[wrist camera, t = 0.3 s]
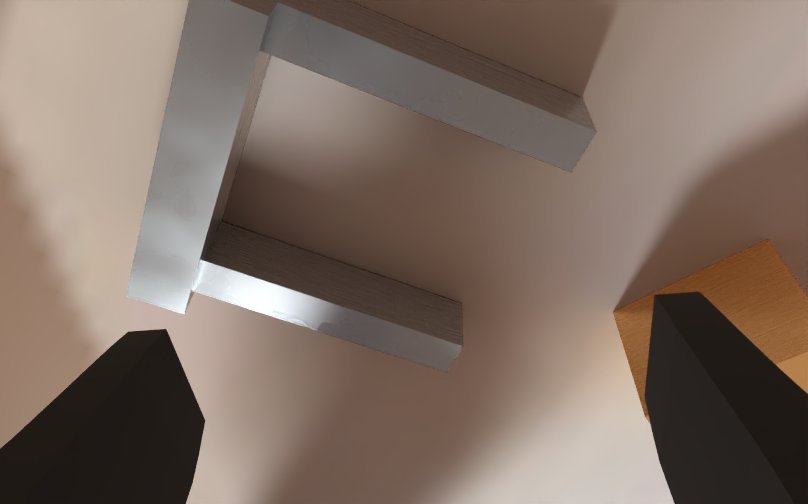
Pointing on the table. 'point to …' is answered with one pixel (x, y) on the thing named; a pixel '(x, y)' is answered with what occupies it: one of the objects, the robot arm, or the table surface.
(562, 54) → the table surface
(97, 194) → the table surface
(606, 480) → the table surface
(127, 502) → the robot arm
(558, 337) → the table surface
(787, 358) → the block
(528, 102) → the guide channel
